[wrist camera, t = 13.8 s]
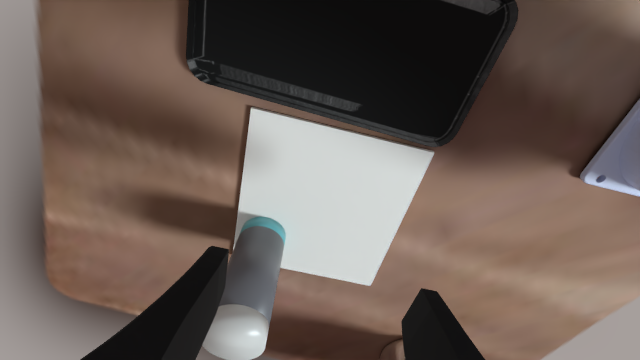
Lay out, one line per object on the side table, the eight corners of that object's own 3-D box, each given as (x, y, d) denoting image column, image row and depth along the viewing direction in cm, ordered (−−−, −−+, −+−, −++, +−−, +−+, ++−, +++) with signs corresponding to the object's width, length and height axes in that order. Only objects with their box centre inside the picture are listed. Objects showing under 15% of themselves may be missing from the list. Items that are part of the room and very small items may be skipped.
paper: (433, 150, 18) (434, 152, 18) (370, 283, 24) (370, 285, 24) (252, 106, 17) (251, 108, 17) (233, 255, 23) (232, 257, 23)
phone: (194, -116, 12) (529, 0, 14) (204, -107, 13) (516, 0, 15) (185, 79, 16) (446, 153, 18) (193, 75, 17) (440, 145, 19)
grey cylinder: (294, 231, 22) (277, 339, 15) (271, 257, 23) (245, 367, 16) (255, 209, 21) (218, 313, 14) (233, 237, 22) (189, 345, 15)
